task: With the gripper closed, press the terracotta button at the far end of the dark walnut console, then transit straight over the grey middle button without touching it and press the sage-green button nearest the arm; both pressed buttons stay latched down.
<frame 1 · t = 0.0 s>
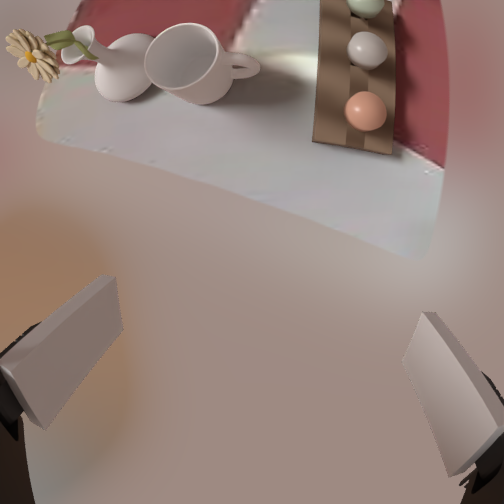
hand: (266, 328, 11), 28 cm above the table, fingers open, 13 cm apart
mug: (218, 78, 32), on the table
grey button: (364, 53, 25), point 5 cm above the table, slide at 0.0 cm
flower in vase: (135, 72, 33), on the table
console: (354, 65, 30), on the table
terracotta button: (362, 113, 27), point 5 cm above the table, slide at 0.0 cm
sage button: (363, 4, 22), point 5 cm above the table, slide at 0.0 cm
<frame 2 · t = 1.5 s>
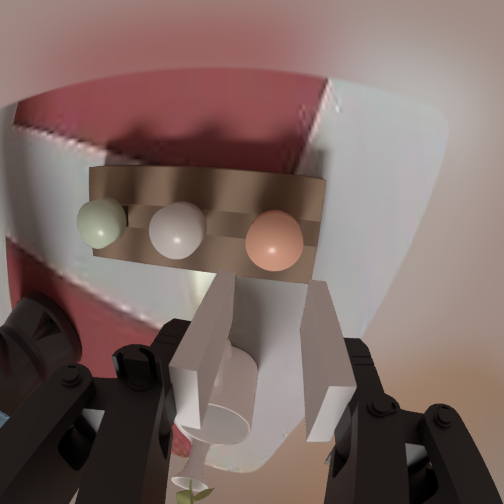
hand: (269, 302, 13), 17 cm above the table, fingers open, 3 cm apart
mug: (228, 355, 35), on the table
grey button: (181, 226, 24), point 5 cm above the table, slide at 0.0 cm
flower in vase: (213, 412, 39), on the table
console: (198, 214, 29), on the table
terracotta button: (274, 236, 23), point 5 cm above the table, slide at 0.0 cm
sage button: (106, 220, 24), point 5 cm above the table, slide at 0.0 cm
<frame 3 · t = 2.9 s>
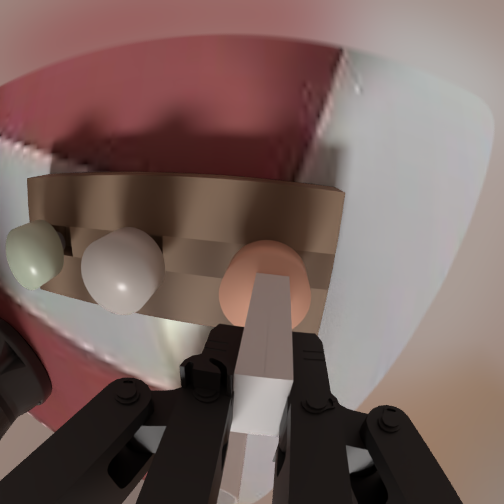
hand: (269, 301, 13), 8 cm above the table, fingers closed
mug: (212, 405, 27), on the table
grey button: (129, 264, 16), point 5 cm above the table, slide at 0.0 cm
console: (163, 238, 21), on the table
terracotta button: (266, 280, 15), point 5 cm above the table, slide at 0.2 cm, touching gripper
sage button: (41, 250, 16), point 5 cm above the table, slide at 0.0 cm
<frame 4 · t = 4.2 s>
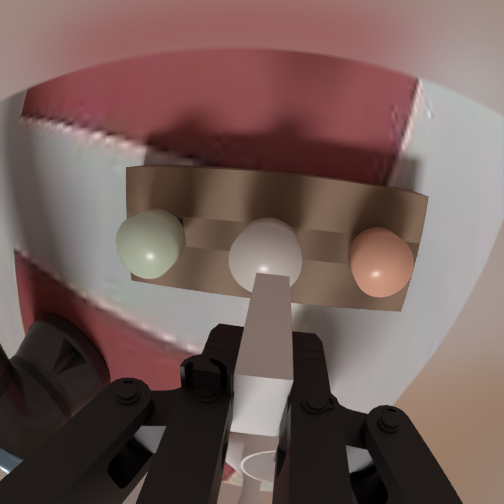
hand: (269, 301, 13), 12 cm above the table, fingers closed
mug: (290, 386, 30), on the table
grey button: (267, 251, 19), point 5 cm above the table, slide at 0.0 cm
flower in vase: (262, 440, 34), on the table
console: (272, 230, 24), on the table
terracotta button: (376, 257, 19), point 4 cm above the table, slide at 1.3 cm
sage button: (156, 239, 20), point 5 cm above the table, slide at 0.0 cm
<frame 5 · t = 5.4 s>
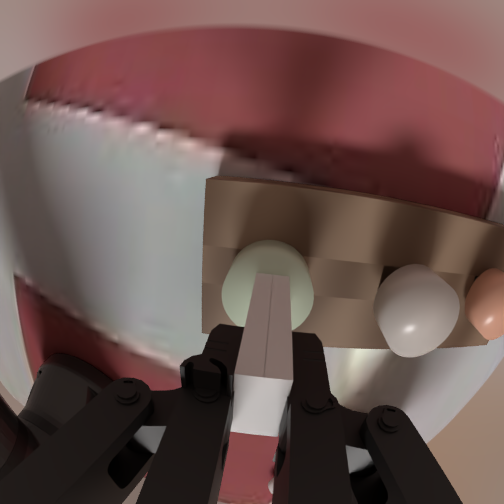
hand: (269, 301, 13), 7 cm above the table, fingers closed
grey button: (410, 303, 14), point 5 cm above the table, slide at 0.0 cm
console: (381, 267, 19), on the table
terracotta button: (488, 298, 14), point 4 cm above the table, slide at 1.3 cm
sage button: (269, 280, 15), point 4 cm above the table, slide at 1.2 cm, touching gripper
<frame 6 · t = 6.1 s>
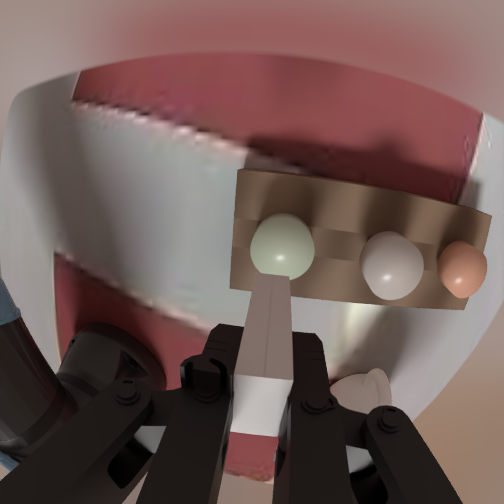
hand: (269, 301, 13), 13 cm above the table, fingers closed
mug: (358, 382, 30), on the table
grey button: (387, 260, 19), point 5 cm above the table, slide at 0.0 cm
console: (368, 239, 24), on the table
terracotta button: (457, 265, 20), point 4 cm above the table, slide at 1.3 cm
sage button: (282, 242, 21), point 4 cm above the table, slide at 1.3 cm
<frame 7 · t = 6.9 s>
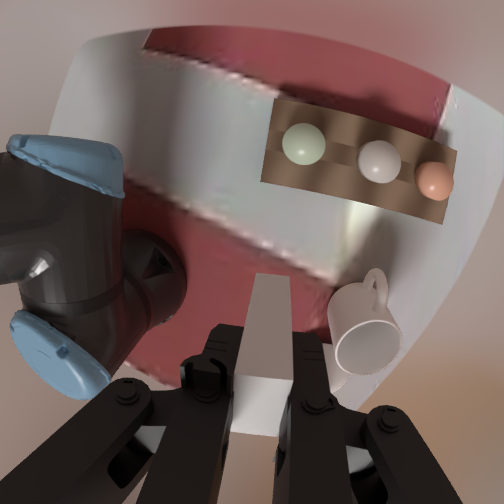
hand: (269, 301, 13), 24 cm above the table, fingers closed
mug: (357, 294, 38), on the table
grey button: (375, 161, 27), point 5 cm above the table, slide at 0.0 cm
flower in vase: (320, 361, 42), on the table
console: (363, 160, 32), on the table
terracotta button: (430, 179, 28), point 4 cm above the table, slide at 1.3 cm
sage button: (302, 144, 29), point 4 cm above the table, slide at 1.3 cm
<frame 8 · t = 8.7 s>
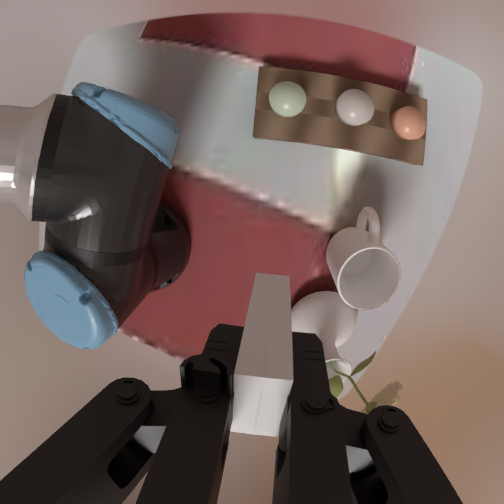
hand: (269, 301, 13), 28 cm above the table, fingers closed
mug: (353, 239, 41), on the table
grey button: (352, 109, 30), point 5 cm above the table, slide at 0.0 cm
flower in vase: (325, 313, 45), on the table
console: (343, 115, 35), on the table
terracotta button: (405, 123, 30), point 4 cm above the table, slide at 1.3 cm
sage button: (287, 101, 31), point 4 cm above the table, slide at 1.3 cm
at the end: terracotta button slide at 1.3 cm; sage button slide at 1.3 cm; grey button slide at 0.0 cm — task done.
